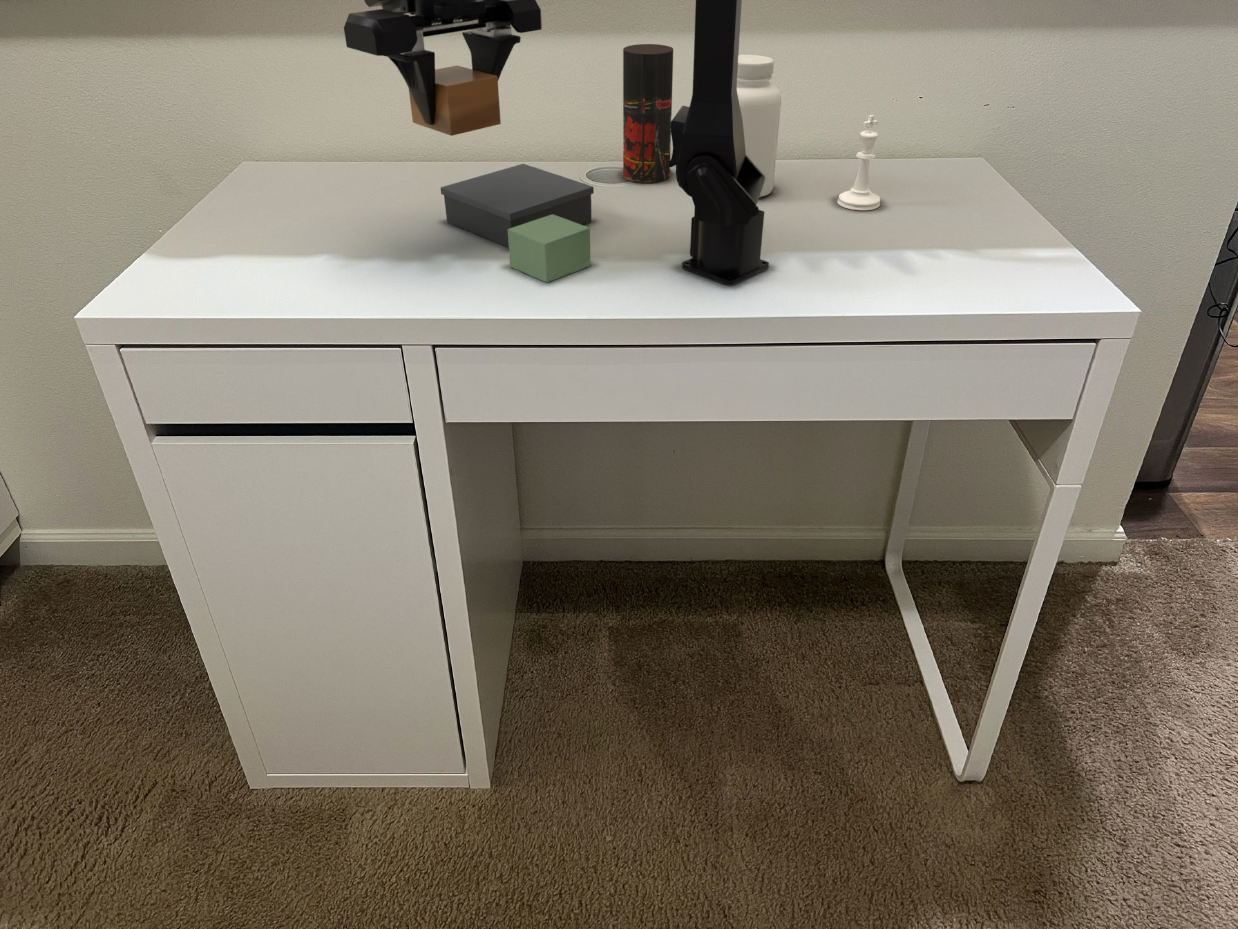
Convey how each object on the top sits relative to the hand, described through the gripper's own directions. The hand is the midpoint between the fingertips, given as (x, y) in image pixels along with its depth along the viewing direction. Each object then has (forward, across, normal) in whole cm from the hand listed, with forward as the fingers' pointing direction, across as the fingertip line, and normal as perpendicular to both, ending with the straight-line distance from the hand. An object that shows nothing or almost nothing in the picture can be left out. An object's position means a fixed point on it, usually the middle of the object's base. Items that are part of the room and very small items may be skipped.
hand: (456, 118), depth 91 cm
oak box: (0, 0, 0) cm, 0 cm away
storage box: (+13, -8, -2) cm, 16 cm away
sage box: (+13, -2, +10) cm, 17 cm away
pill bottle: (+13, -34, +9) cm, 38 cm away
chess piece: (+13, -41, +22) cm, 48 cm away
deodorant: (+13, -30, -3) cm, 33 cm away
